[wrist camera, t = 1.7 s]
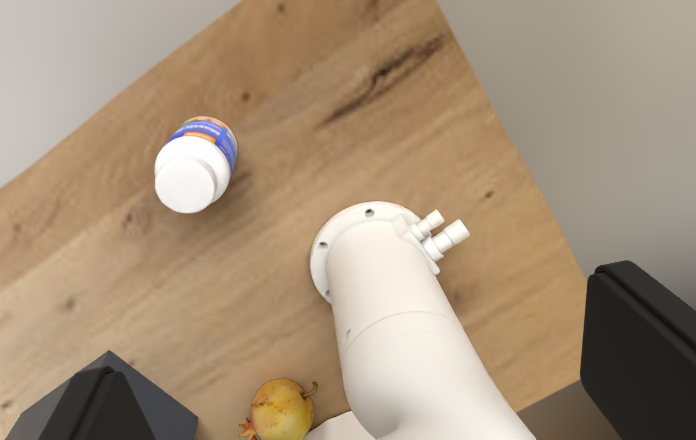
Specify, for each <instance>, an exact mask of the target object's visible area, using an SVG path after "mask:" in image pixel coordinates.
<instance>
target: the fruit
mask: <svg viewBox="0 0 696 440" xmlns="http://www.w3.org/2000/svg"><path fill="white" fill-rule="evenodd" d="M313 384H314V387H313V390H312V391H310V392H308V393H305V392H304V391H303V390H302V389H301V387H300V386H299V385H297V384H296V383H295V382H293V381H290V380H286V379H278V380H273V381H270V382H268V383H266V384H264V385H263V386H262V387H261V388H260V389H259V390H258V391H257V393H256V395H255V397H254V399H253V401H252V404H251V419H252V422H250V421H249V419H248V417H246V421H247V422H248V423H247V424H239V426H240V427H242V428H245V430H244V431H243V432H242V433H241V435H240V436H247V435H249V434H250V436H249V438H248V440H253V439H254V440H257V439H256V437H255V435H256V434H257V435H258V436H259V438H261V439H262V440H303V439H304V438H305V436H306V435H307V433H308V432H309V430H310V428H311V426H312V422H313V418H314V408H313V404H312V401H311V399H310V398H309V396H310V395H312V394H314V393H315V392H316V390H317V387H318V384H317V382H314V381H313Z"/></svg>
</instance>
